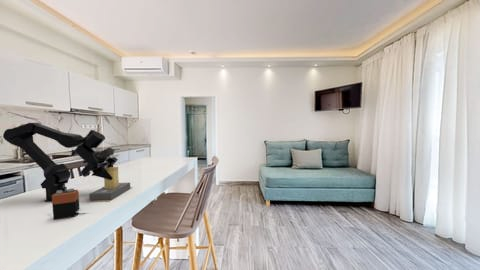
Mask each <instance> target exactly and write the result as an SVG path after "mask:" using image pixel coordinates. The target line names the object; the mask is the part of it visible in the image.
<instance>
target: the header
mask: <svg viewBox="0 0 480 270" xmlns="http://www.w3.org/2000/svg"><path fill="white" fill-rule="evenodd" d="M133 188H134V187H133V186H131V182H119V187H117V188H115V189H105V186H103V187H100V188H99V189H97V190H95V191H92V192H90V193H89V200H87V201H85V204H87V203H89V204H90V203H110V202H112V201H113V200H114V199H116V198H118V197H120V196H122V195H123V194H124V193H127V192H128V191H130V190H131V189H133Z"/></svg>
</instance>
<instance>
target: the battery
mask: <svg viewBox="0 0 480 270" xmlns="http://www.w3.org/2000/svg"><path fill="white" fill-rule="evenodd" d="M51 204H52V216H53V220H59V219H60V220H62V219H67V218H74V217H77V215H78V214H79V212H78V211H79V210H80V209H81V208H80V197H79V190H78V189H75V188H67V191H62V190H59V191H57V192H56V193H55V194H53V195H52V201H51Z"/></svg>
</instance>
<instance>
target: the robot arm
mask: <svg viewBox="0 0 480 270" xmlns="http://www.w3.org/2000/svg"><path fill="white" fill-rule="evenodd" d="M36 134H37V135H40V136H43V137H45V138H48V139H51V140H54V141H56V142H57V143H58V144H59V145H61V146H62V147H64V148H67V149H69V148H70V149H71V148H75V149H71V156H72V157H73V156H74V157H75V156H79V157H80V158H81V159H82V160H83V161H82V162H83V164H84V165H85V164H86V165H85V166H84V167H83V168H82V169H81V170H80V175H81V176H82V177H83V178H86V177H89V176H90V172H92V173H91V176H93V177H97V178H98V177H99V178H101V179H102V178H103V179H104V178H105V179H109V180H112V179H113V178H112V177H111V175H110V174H109V173H108V172H107V171H106V170H105V168H107V167H114V165H115V164H116V163H117V161H119V159H118V158H117V157H116V156H113V155H114V152H115V149H113V148H112V147H107V148H105V149H103V150H101V151H95V150H94V149H97V148H98V147H100V145H101V144H102V143H103V142H104V141H105V140H106V136H105V135H104V134H103V133H100V132H98V131H96V130H95V129H94V130H93V129H91V130H89V132H88V133H87V134H86V135H85V137H83V136H82V135H80V134H77V133H72V132H64V131H60V130H58V129H55V128H52V127H49V126H47V125H44V124H42V123H40V122H27V123H26V124H23V125H20V126H16V127H12V128H7V129H5V130H4V131H3V135H2V137H3V140H5V141H6V142H7V143H9V144H10V145H13V146H16V147H18V148H20V149H21V150H22V151H23V152H24V153H25V154H26V155H27V156H28V157H30V159H32V160H33V162H35V163H36V165H38V166H39V168H40V169H42V171H43V177H44V180H43V181H42V182H40V186H41V189H45V200H44V202H45V203H47V202H52V195H53V194H55V193H56V192H57V191H59V190H62V191H67V189H68V188H67V186H66V184H69V183H68V182H69V180H70V178H71V171H70V168H68V167H67V166H66V165H65V164H64V163H56V162H55V161H54V160H52V158H50V156H49V155H47V153H46V152H45V151H43V149H41V147H40V146H38V145H37V143H35V142H34V135H36ZM110 156H111V157H110Z"/></svg>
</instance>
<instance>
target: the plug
mask: <svg viewBox="0 0 480 270" xmlns="http://www.w3.org/2000/svg"><path fill="white" fill-rule="evenodd" d="M105 170H106V171H107V172H108V173H109V174H110V175H111V177H112V178H113V179H112V180H109V179H105V178H103V180H104V187H105V189H115V188H117V187H119V183H120V182H119V167H118V166H113V167H107V168H105Z"/></svg>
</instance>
